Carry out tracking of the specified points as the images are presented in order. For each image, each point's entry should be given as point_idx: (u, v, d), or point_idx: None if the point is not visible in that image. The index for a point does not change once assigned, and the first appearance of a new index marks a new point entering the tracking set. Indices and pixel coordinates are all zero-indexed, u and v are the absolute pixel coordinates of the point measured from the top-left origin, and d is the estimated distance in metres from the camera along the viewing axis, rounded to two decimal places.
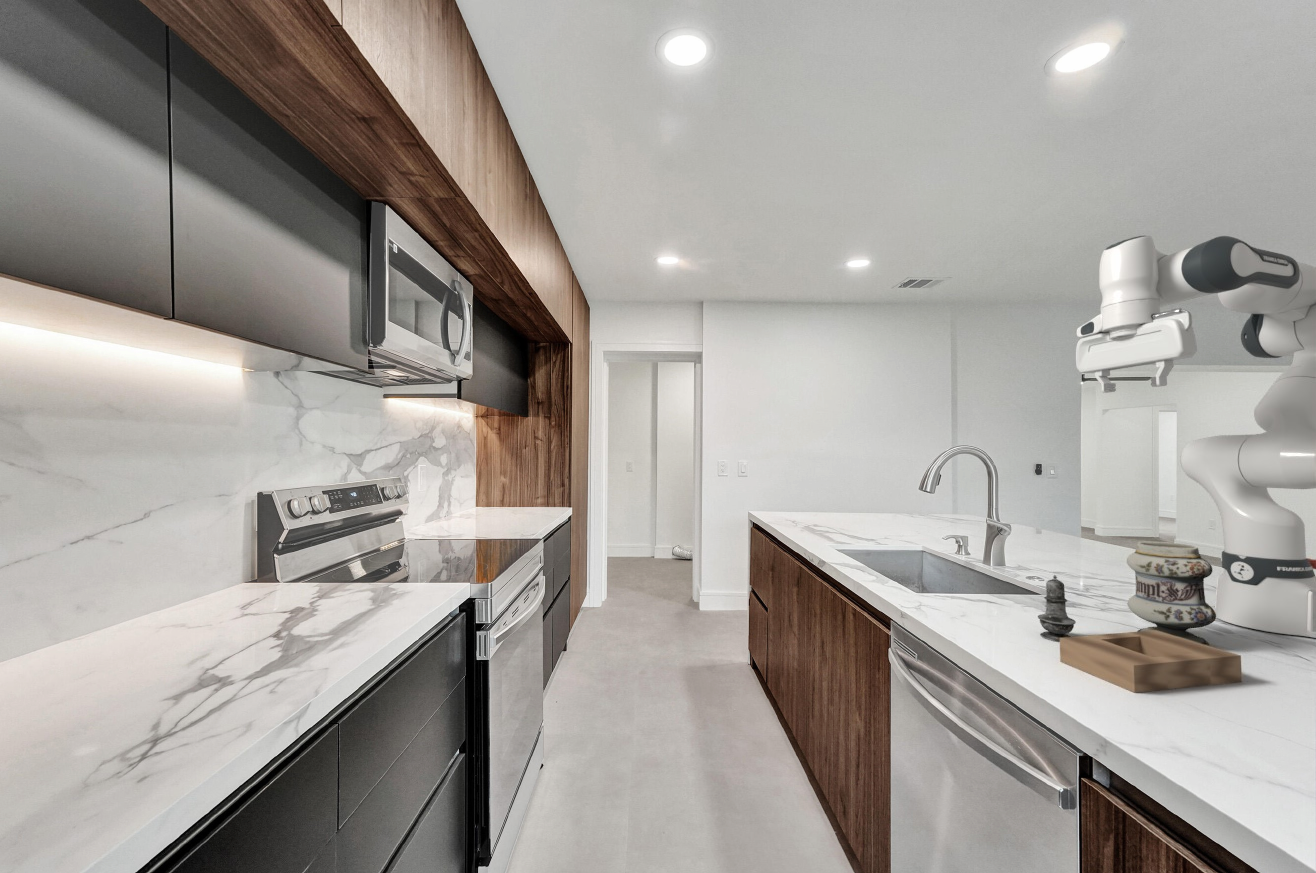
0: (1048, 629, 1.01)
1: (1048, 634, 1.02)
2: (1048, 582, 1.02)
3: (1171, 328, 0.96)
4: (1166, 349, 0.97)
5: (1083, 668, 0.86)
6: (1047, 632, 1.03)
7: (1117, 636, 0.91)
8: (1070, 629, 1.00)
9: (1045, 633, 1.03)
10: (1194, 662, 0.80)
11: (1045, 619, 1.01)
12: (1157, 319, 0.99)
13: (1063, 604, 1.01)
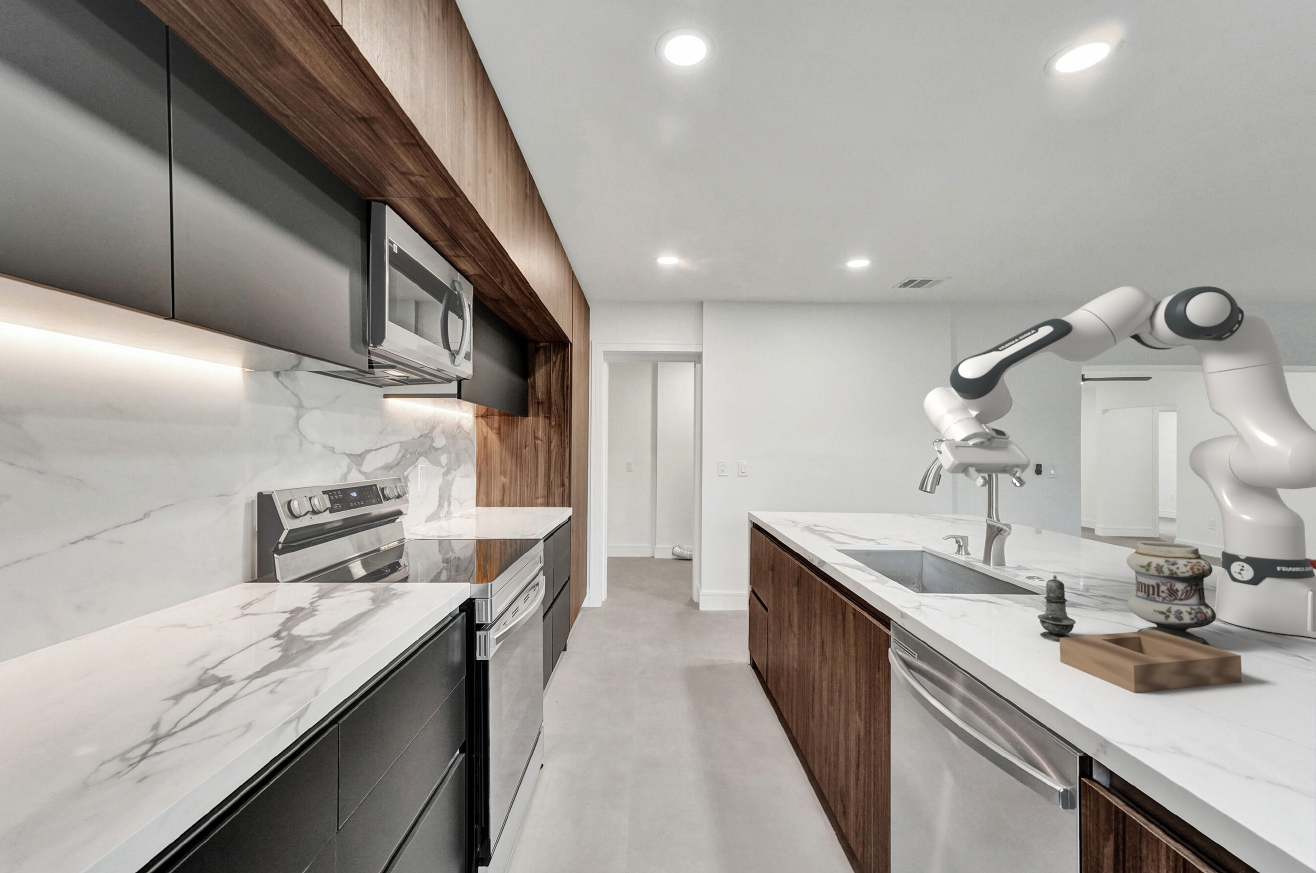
0: (1048, 629, 1.01)
1: (1048, 634, 1.02)
2: (1048, 582, 1.02)
3: None
4: None
5: (1083, 668, 0.86)
6: (1047, 632, 1.03)
7: (1117, 636, 0.91)
8: (1070, 629, 1.00)
9: (1045, 633, 1.03)
10: (1194, 662, 0.80)
11: (1045, 619, 1.01)
12: None
13: (1063, 604, 1.01)
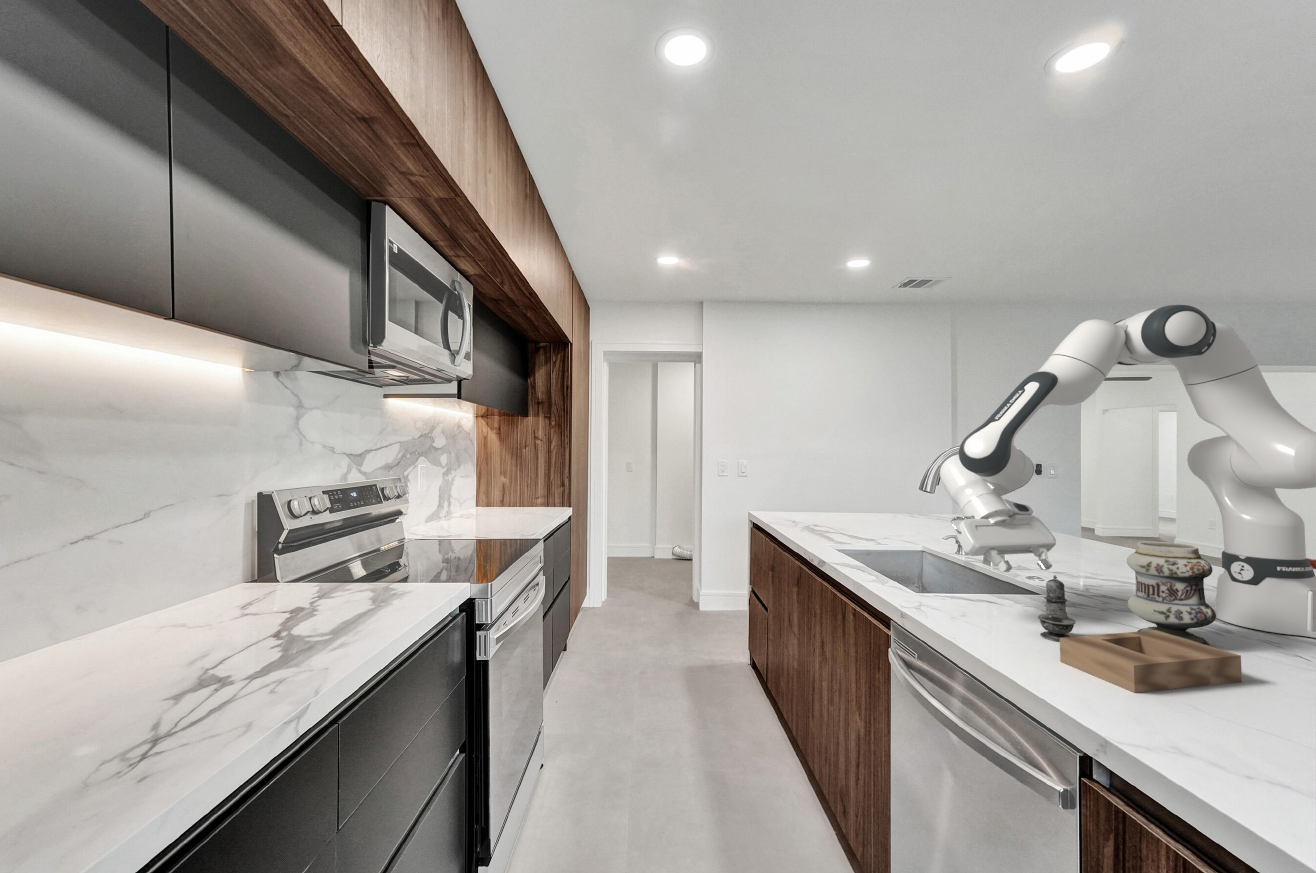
0: (1048, 629, 1.01)
1: (1048, 633, 1.02)
2: (1048, 582, 1.02)
3: None
4: None
5: (1083, 668, 0.86)
6: (1047, 632, 1.03)
7: (1117, 636, 0.91)
8: (1070, 629, 1.00)
9: (1045, 633, 1.03)
10: (1194, 662, 0.80)
11: (1045, 619, 1.01)
12: None
13: (1063, 604, 1.01)
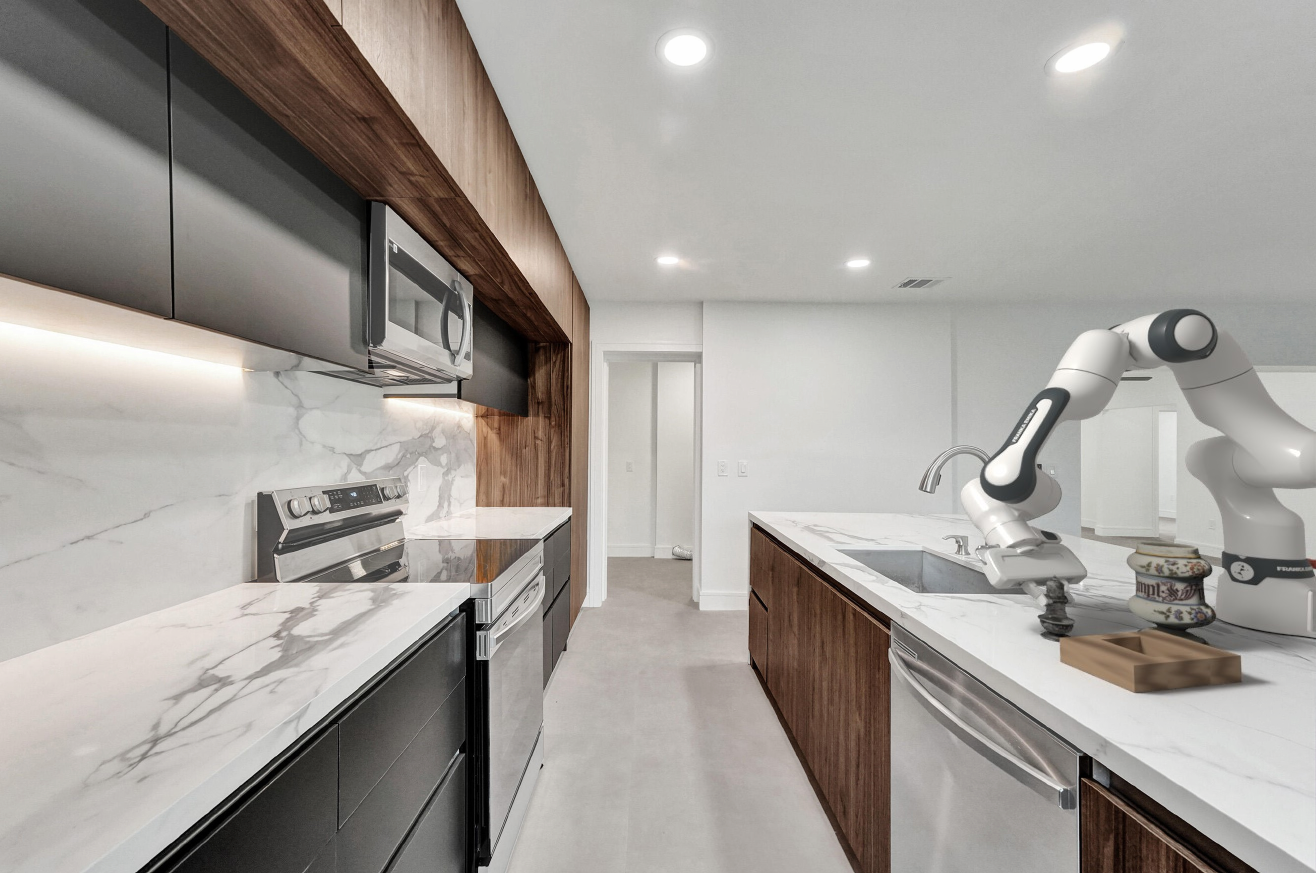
0: (1048, 629, 1.01)
1: (1048, 633, 1.02)
2: (1048, 582, 1.02)
3: None
4: None
5: (1083, 668, 0.86)
6: (1047, 632, 1.03)
7: (1117, 636, 0.91)
8: (1070, 629, 1.00)
9: (1045, 633, 1.03)
10: (1194, 662, 0.80)
11: (1045, 619, 1.01)
12: None
13: (1063, 604, 1.01)
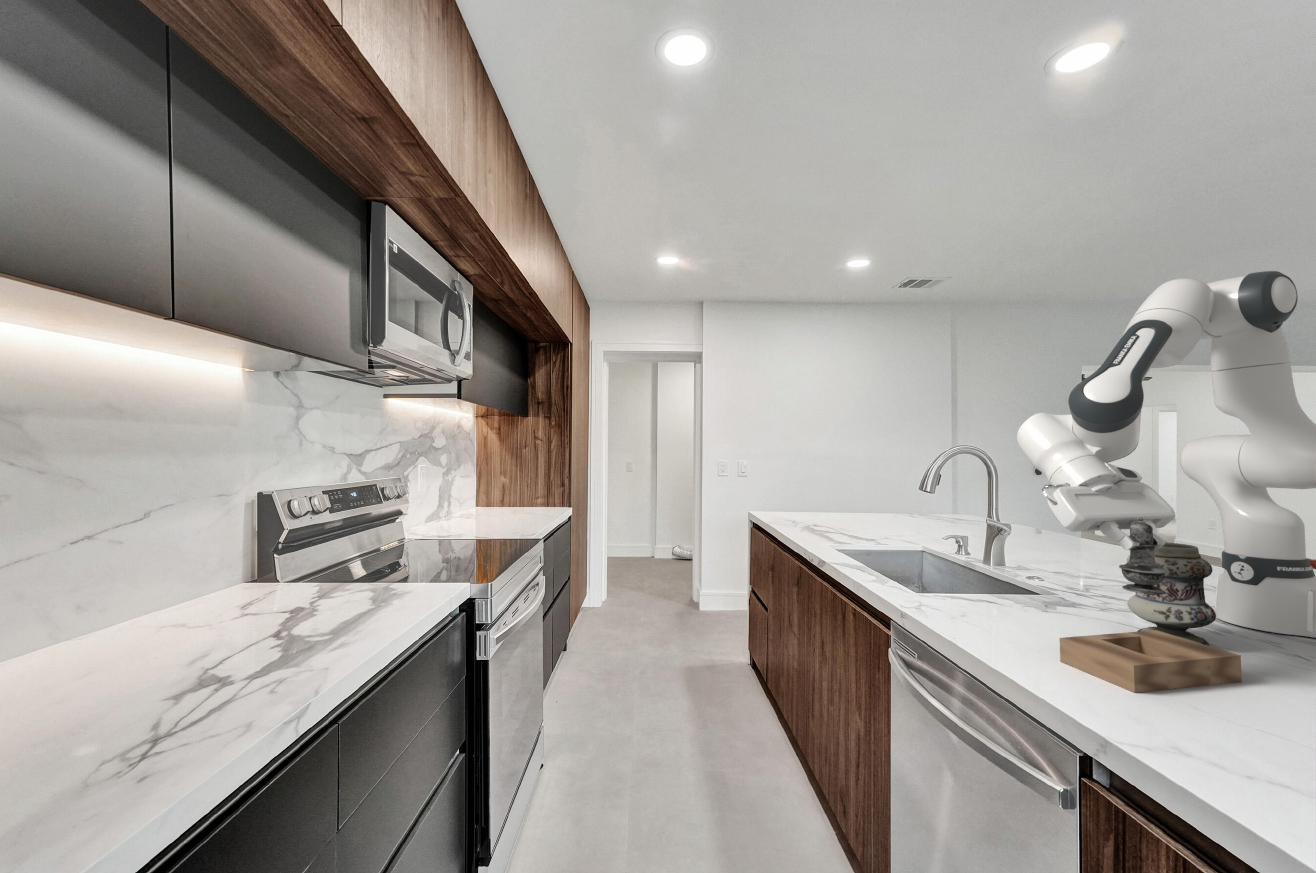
0: (1134, 580, 0.86)
1: (1132, 586, 0.87)
2: (1133, 525, 0.87)
3: None
4: None
5: (1083, 668, 0.86)
6: (1130, 585, 0.88)
7: (1117, 636, 0.91)
8: (1161, 579, 0.84)
9: (1129, 586, 0.87)
10: (1194, 662, 0.80)
11: (1130, 568, 0.86)
12: None
13: (1152, 550, 0.85)
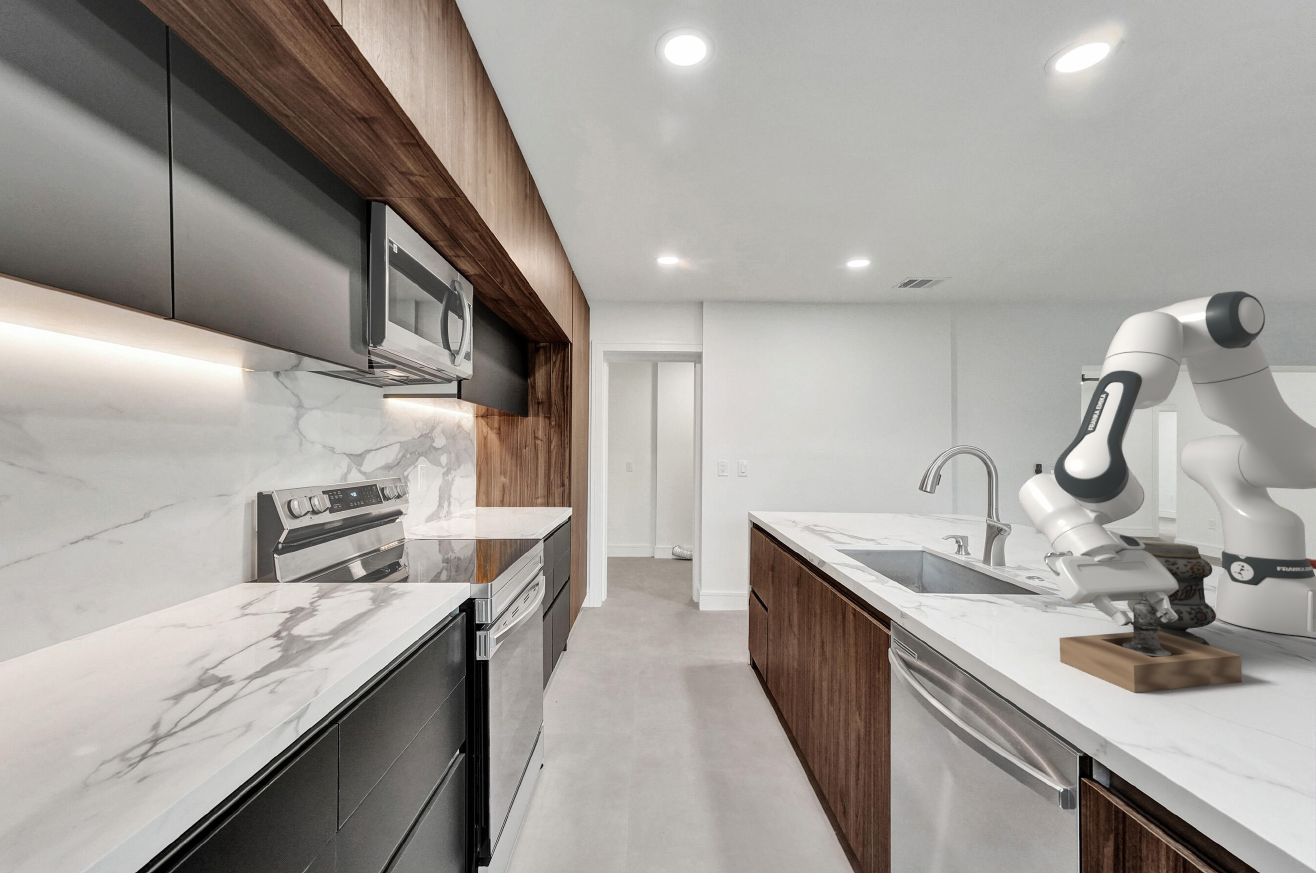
0: None
1: None
2: (1136, 605, 0.87)
3: None
4: None
5: (1083, 668, 0.86)
6: None
7: (1117, 636, 0.91)
8: None
9: None
10: (1194, 662, 0.80)
11: (1133, 649, 0.86)
12: None
13: (1156, 632, 0.85)
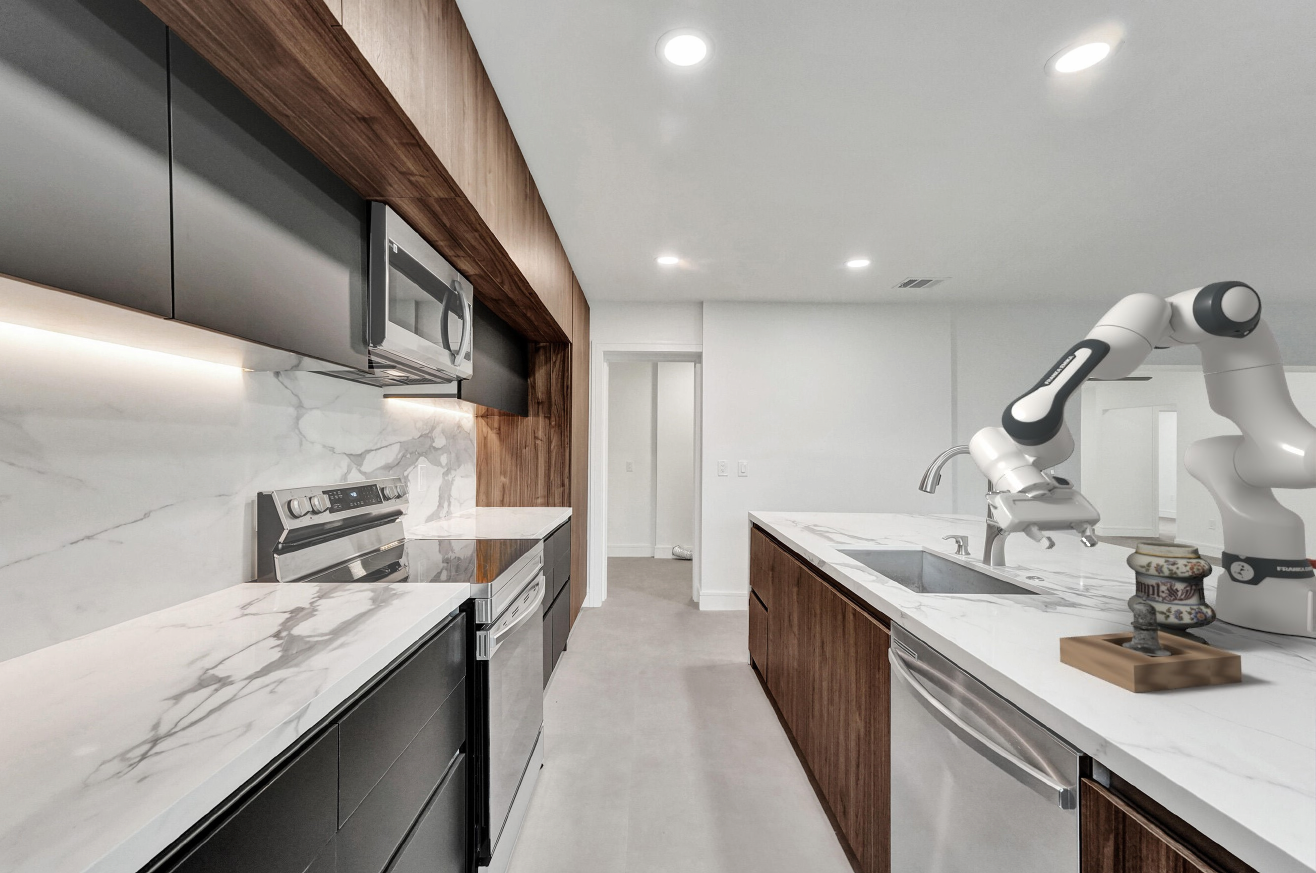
0: None
1: None
2: (1136, 605, 0.87)
3: None
4: None
5: (1083, 668, 0.86)
6: None
7: (1117, 636, 0.91)
8: None
9: None
10: (1194, 662, 0.80)
11: (1133, 649, 0.86)
12: None
13: (1156, 632, 0.85)
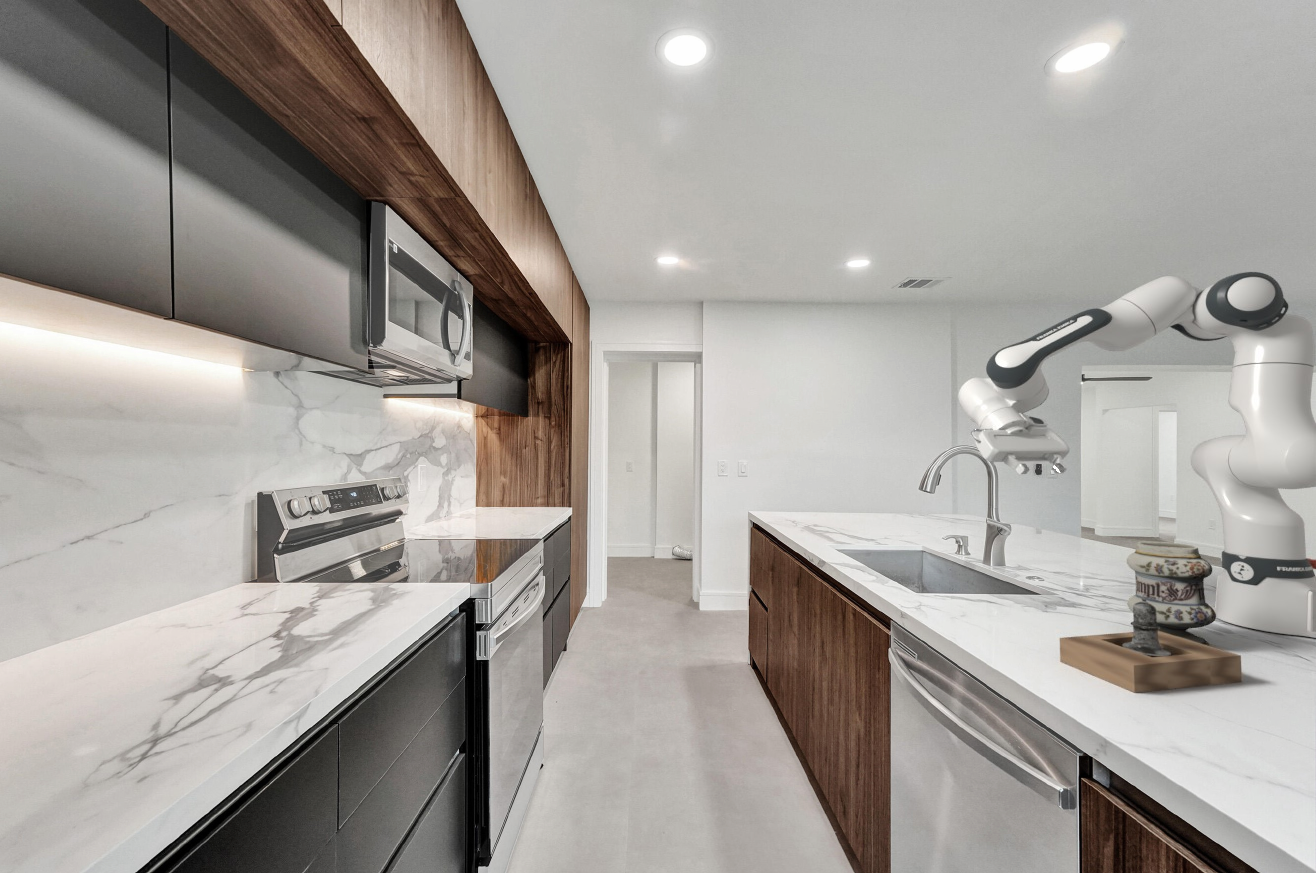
0: None
1: None
2: (1136, 605, 0.87)
3: None
4: None
5: (1083, 668, 0.86)
6: None
7: (1117, 636, 0.91)
8: None
9: None
10: (1194, 662, 0.80)
11: (1133, 649, 0.86)
12: None
13: (1155, 632, 0.85)
